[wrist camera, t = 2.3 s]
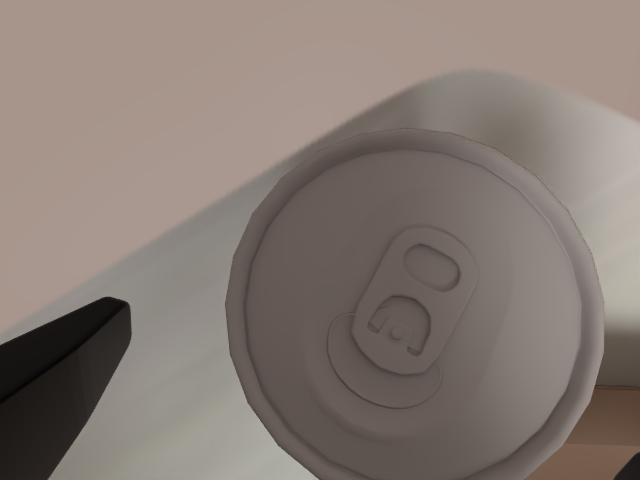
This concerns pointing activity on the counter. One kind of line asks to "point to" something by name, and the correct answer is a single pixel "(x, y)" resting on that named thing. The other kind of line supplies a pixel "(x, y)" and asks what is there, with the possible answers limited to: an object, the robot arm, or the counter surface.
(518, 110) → the counter surface
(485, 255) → the beverage can
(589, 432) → the walnut tray
